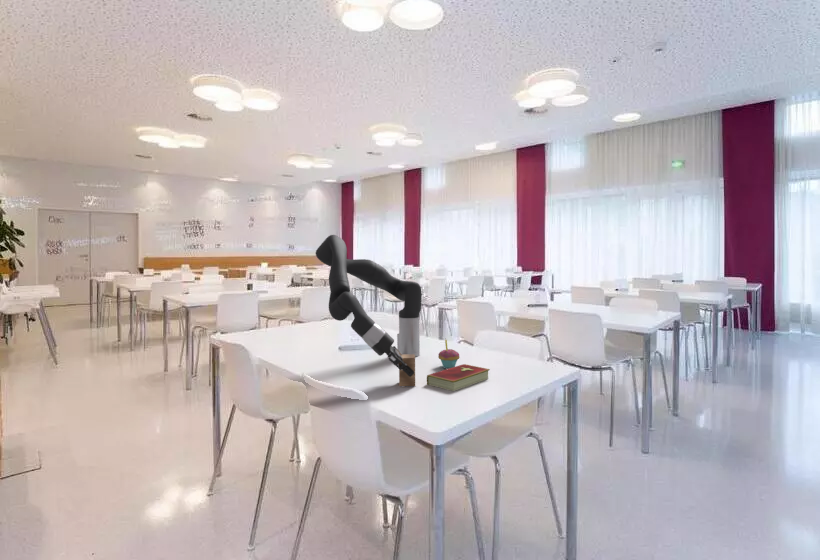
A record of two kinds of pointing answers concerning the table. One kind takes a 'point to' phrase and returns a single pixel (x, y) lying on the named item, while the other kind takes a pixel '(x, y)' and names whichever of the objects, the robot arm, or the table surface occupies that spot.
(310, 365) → the table surface
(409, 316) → the robot arm
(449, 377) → the hardcover book
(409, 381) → the block
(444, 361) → the cupcake
